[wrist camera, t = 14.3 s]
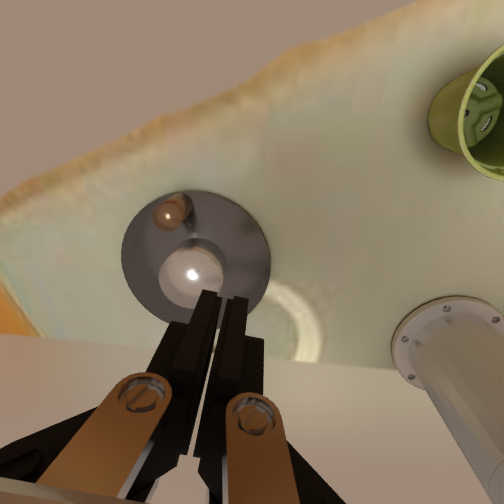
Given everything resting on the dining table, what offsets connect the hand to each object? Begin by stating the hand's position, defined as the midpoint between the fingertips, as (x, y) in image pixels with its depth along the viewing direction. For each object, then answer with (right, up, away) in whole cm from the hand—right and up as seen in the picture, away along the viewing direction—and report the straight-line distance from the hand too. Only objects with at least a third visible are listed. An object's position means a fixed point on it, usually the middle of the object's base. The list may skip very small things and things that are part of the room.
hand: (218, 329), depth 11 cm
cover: (-4, +1, +23) cm, 23 cm away
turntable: (-5, +1, +24) cm, 24 cm away
